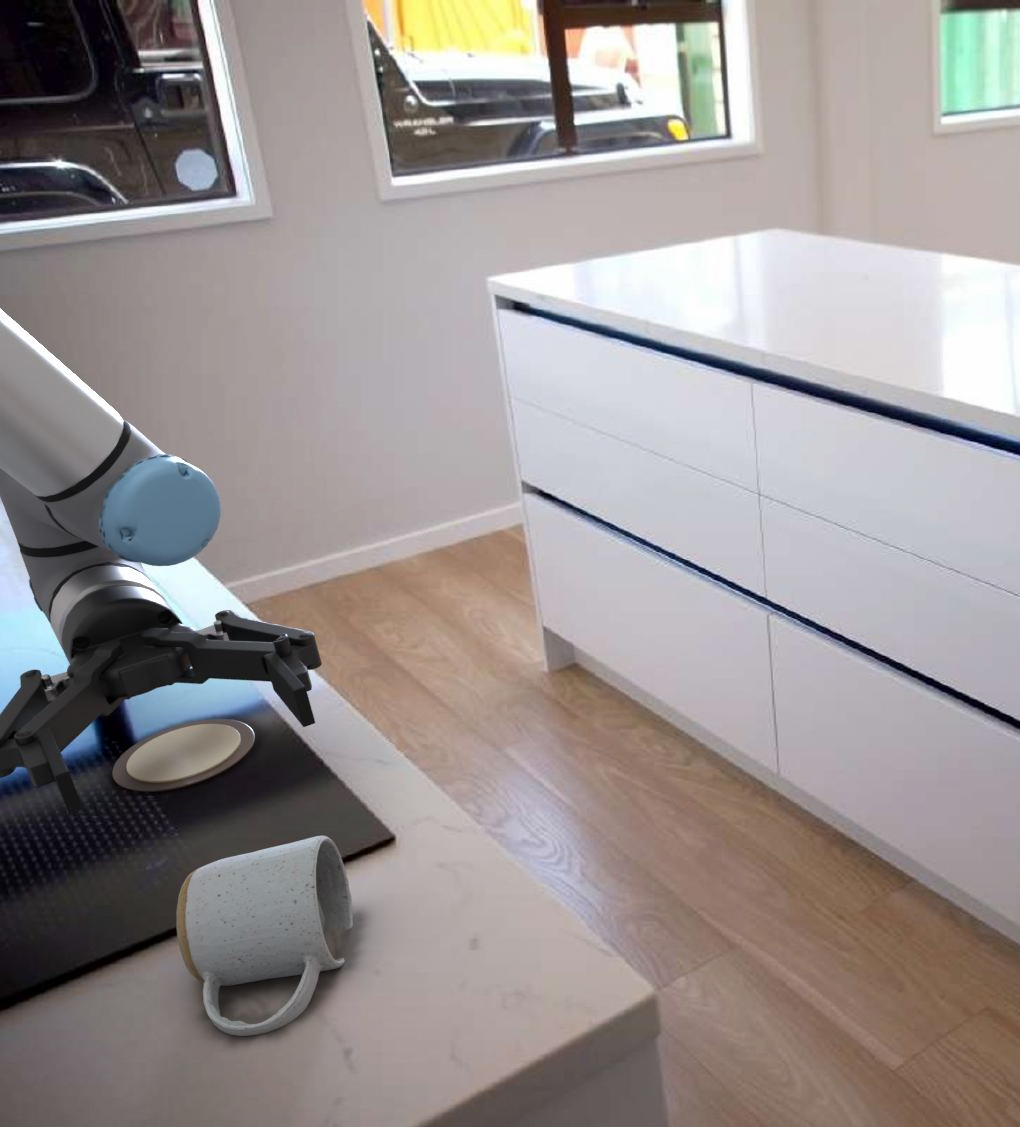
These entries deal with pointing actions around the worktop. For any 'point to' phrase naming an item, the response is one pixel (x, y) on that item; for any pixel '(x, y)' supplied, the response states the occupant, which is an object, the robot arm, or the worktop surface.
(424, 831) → the worktop surface
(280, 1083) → the worktop surface
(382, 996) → the worktop surface
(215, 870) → the ceramic mug
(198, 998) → the worktop surface
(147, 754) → the cream coaster
